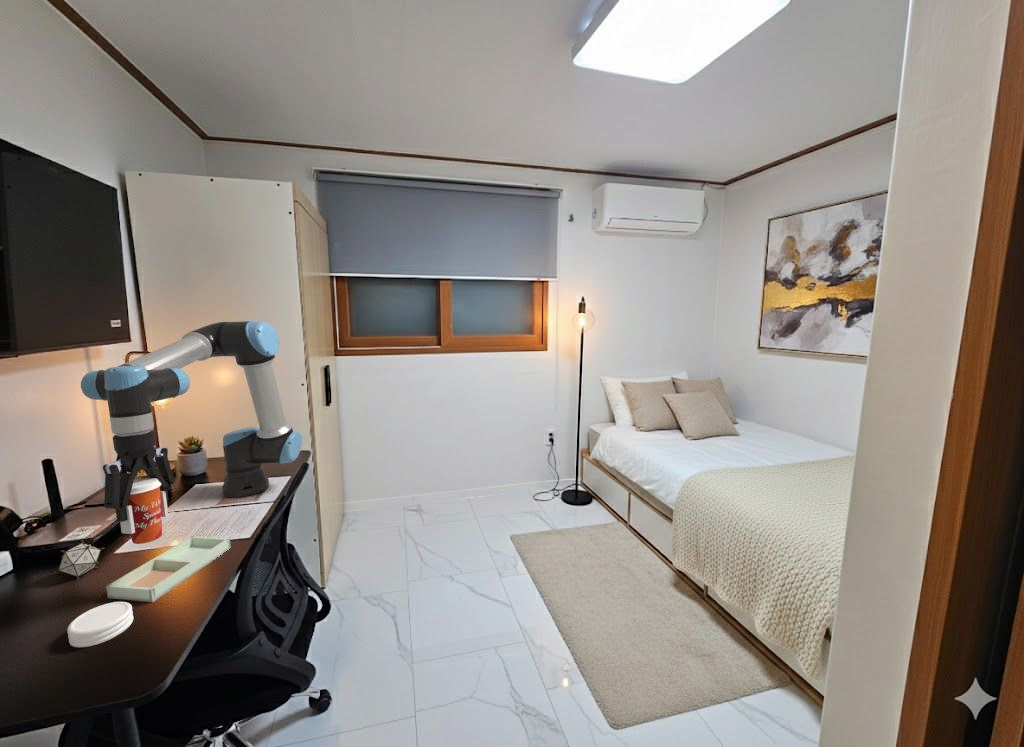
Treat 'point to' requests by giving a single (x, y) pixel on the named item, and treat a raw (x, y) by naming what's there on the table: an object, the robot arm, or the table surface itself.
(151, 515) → the paper cup
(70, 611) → the table surface
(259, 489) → the robot arm
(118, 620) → the coaster
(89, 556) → the game die
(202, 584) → the table surface
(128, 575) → the mint green tray
